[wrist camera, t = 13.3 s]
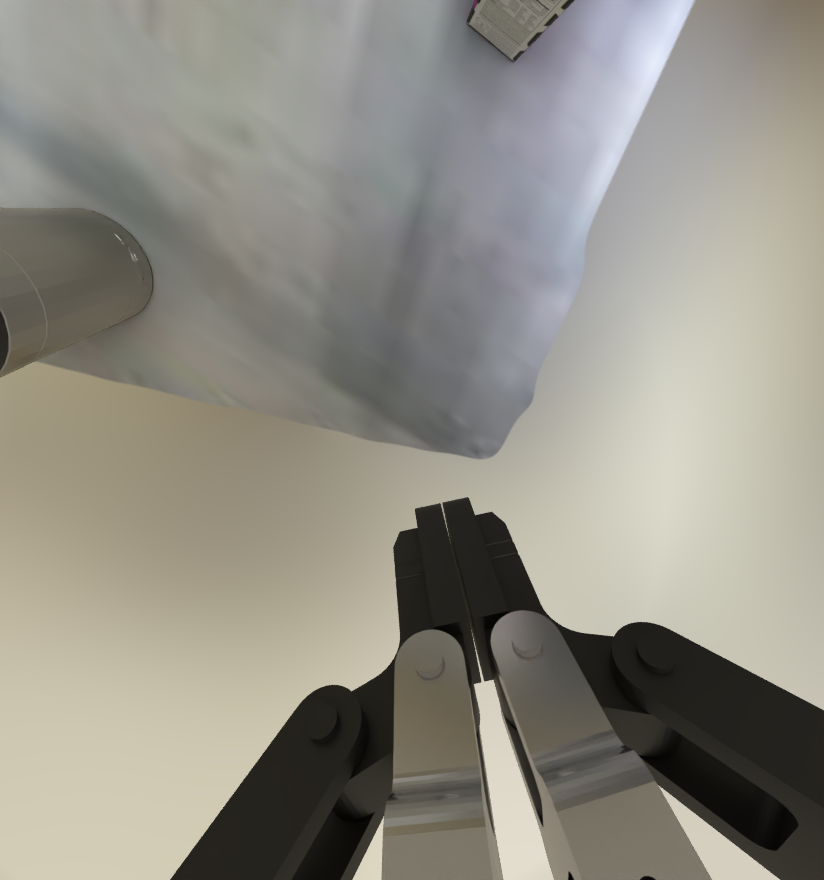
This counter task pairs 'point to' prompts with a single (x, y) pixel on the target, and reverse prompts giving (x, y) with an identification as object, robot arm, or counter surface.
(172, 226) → the counter surface
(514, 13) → the candy bar box
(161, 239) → the counter surface
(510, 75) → the counter surface
